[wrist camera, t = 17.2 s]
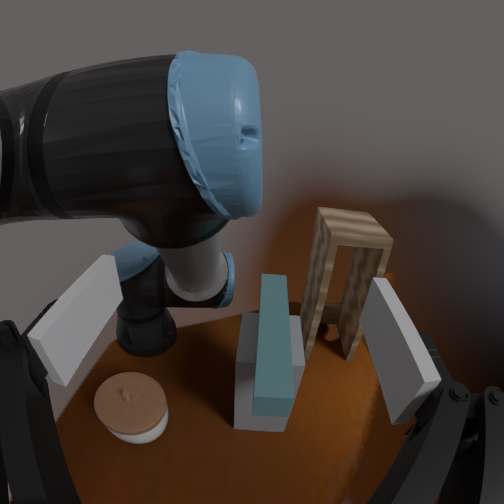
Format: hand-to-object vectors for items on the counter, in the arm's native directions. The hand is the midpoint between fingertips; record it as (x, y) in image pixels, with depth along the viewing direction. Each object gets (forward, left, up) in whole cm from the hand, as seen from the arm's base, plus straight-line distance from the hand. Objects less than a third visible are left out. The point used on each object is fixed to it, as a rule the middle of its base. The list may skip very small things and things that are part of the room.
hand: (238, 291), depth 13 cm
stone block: (-15, +11, -40) cm, 44 cm away
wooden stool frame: (-27, +34, -40) cm, 59 cm away
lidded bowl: (-17, -11, -40) cm, 45 cm away
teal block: (-13, +11, -20) cm, 26 cm away
